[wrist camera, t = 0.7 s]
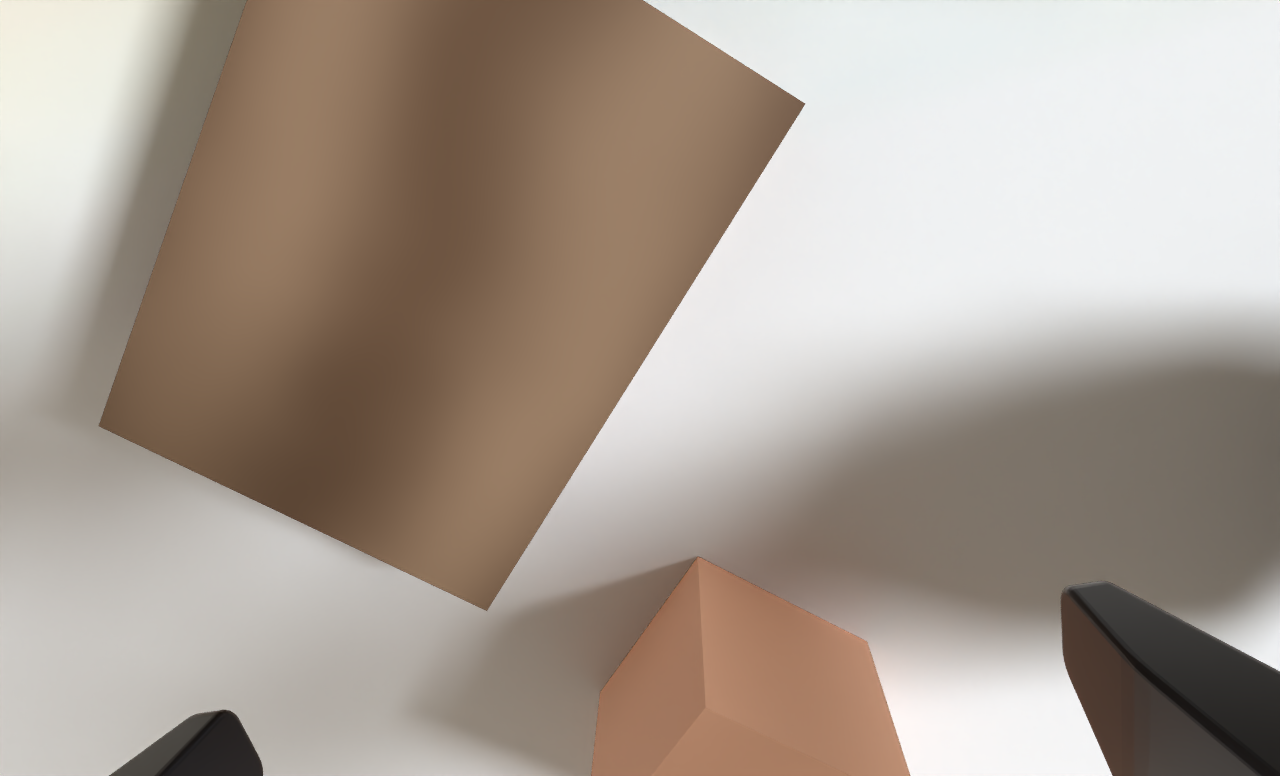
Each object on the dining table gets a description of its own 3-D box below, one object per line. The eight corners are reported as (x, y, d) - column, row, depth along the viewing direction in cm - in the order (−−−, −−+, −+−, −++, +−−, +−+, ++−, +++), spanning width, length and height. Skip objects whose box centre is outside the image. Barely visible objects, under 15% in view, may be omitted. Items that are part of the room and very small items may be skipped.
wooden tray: (780, 90, 20) (805, 104, 16) (514, 523, 25) (486, 610, 21) (390, -159, 18) (319, -207, 14) (190, 362, 23) (98, 426, 19)
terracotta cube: (866, 639, 25) (920, 808, 20) (759, 764, 28) (781, 947, 22) (697, 555, 24) (705, 707, 19) (600, 690, 27) (581, 863, 21)
